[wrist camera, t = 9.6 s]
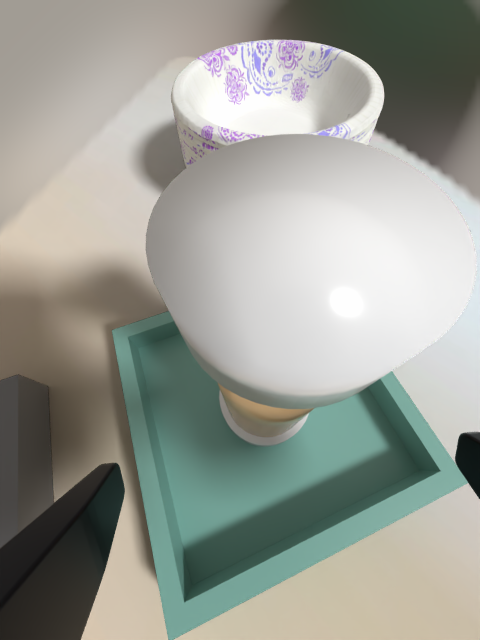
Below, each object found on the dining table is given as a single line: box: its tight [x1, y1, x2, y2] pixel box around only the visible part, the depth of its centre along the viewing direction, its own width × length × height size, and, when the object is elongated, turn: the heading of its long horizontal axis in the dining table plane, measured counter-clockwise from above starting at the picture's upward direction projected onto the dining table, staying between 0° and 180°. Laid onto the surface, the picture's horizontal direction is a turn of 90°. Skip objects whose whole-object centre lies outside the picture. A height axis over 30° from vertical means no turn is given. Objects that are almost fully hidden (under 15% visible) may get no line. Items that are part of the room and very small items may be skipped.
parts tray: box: [112, 311, 468, 640], centre depth 15 cm, size 14×14×2 cm
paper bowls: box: [171, 40, 384, 168], centre depth 23 cm, size 15×15×8 cm
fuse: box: [146, 134, 477, 447], centre depth 10 cm, size 5×5×13 cm
